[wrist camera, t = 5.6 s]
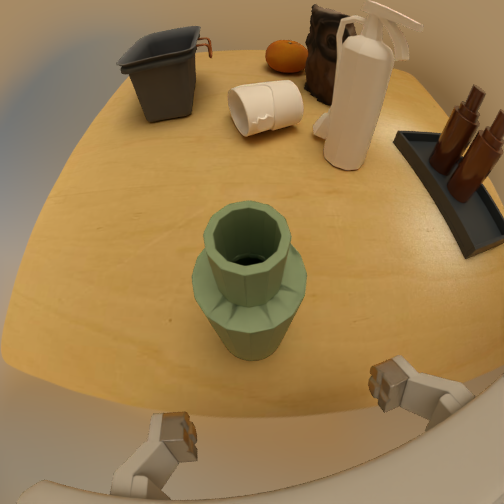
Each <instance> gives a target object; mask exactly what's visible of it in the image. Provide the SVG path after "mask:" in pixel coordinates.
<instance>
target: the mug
mask: <svg viewBox="0 0 504 504" xmlns="http://www.w3.org/2000/svg"><path fill="white" fill-rule="evenodd" d="M228 104H229V109H230V113H231V116H232V118H233V121H234V123H235V125H236V127H237V129H238V130H239V132H240V133H241V134H242V135H243V136H249V135H253V134H256V133H259V132H262V131H266V130H269V129H271V130H276V129H280V128H283V127H287V126H291V125H295V124H298V123H299V122H300V121H301V120H302V117H303V101H302V97H301V94H300V91H299V89H298V88H297V86H296V85H295V84H294V83H293V82H292V81H290V80H281V81H271V82H262V83H254V84H247V85H241V86H237V87H235V88H233V89H230V90H229V92H228Z"/></svg>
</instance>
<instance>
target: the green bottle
mask: <svg viewBox="0 0 504 504" xmlns="http://www.w3.org/2000/svg"><path fill="white" fill-rule="evenodd" d="M203 237H204V243H205V248H204V250H203V251H202V252H201V253H200V255H199V256H198V258H197V260H196V264H195V267H194V270H193V274H192V284H193V291H194V297H195V299H196V301H197V303H198V304H199V306H200V307H201V309H202V311H203V312H204V314H205V315H206V317H207V318H208V320H209V322H210V323H211V325H212V326H213V328H214V329H215V331H216V332H217V334H218V335H219V337H220V338H221V340H222V341H223V343H224V344H225V346H226V347H227V349H228V350H229V351H230V352H231V353H232V354H233V355H235V356H236V357H238V358H240V359H243V360H248V361H256V360H261V359H264V358H266V357H268V356H270V355H271V354H272V353H273V352H275V351H276V349H277V348H278V346H279V344H280V343H281V341H282V339H283V337H284V335H285V333H286V332H287V330H288V328H289V326H290V324H291V322H292V320H293V318H294V316H295V314H296V312H297V310H298V308H299V306H300V304H301V302H302V300H303V298H304V296H305V290H306V280H307V273H306V270H305V267H304V264H303V261H302V258H301V255H300V254H299V252H298V251H297V250H296V249H295V248H294V247H293V246H292V245H291V243H290V242H291V233H290V230H289V227H288V225H287V222H286V219H285V218H284V217H283V216H282V215H281V214H280V213H278V212H277V211H276V210H275V209H274V208H272V207H271V206H269V205H267V204H263V203H258V202H254V201H243V202H237V203H232V204H229V205H227V206H225V207H224V208H222V209H221V210H219V211H218V212H217V213H215V214H214V215H213V216H212V217H211V219H210V221H209V223H208V225H207V227H206V229H205V231H204V234H203Z"/></svg>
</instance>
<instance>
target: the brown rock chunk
mask: <svg viewBox="0 0 504 504" xmlns="http://www.w3.org/2000/svg"><path fill="white" fill-rule="evenodd" d="M311 12H312V15H311V20H310V24H311V26H310V33H309V34H308V36H307V39H306V42H305V43H306V46H307V49H308V57H307V60H306V64H305V65H306V66H305V73H306V80H307V82H306V83H305V87H304V89H305V90H307V91H309V92H311V94H310V95H312V96H314V97H316V98H317V101H319V102H322V103H324V104H326V105H330V106H331V105H332V100H333V92H334V83H335V74H336V64H337V37H336V35H337V32H338V28H339V25H340V22H341V19H343V18H347V17H350V16H348V15H345V14H342V13H340V12H337V11H335V10H331V9H327V8H326V9H324V8H322V7H319V6H317V5H316V4H314V5H313V6H312V11H311ZM350 36H357V35H356V31H355V27H354V24H353V23H349V24H346V25H345V29H344V33H343V36H342V45H343V43H344V42H345V40H346V39H347V38H348V37H350Z"/></svg>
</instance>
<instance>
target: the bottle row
mask: <svg viewBox="0 0 504 504" xmlns="http://www.w3.org/2000/svg"><path fill="white" fill-rule="evenodd" d="M485 95H486V93H485V92H484V91H483V90H482V89H481V88H480V87H478V86H476V85H473V86H472V89H471V91H470V93H469V95H468V98H467V100H466V102H464V101H462V102H461V104H460V106H455V107H454V109H453V111H452V113H451V115H450V117H449V119H448V121H447V124H446V126H445V128H444V130H443V132H442V134H441V136H440V138H439V139H438V141H437V143H436V145H435V147H434V149H433V151H432V153H431V155H430V156H429V163H430V165H431V166H432V167H433V168H434V169H435V170H436V171H437V172H438V173H440V174H442V175H445V176H449V175H450V174H451V173H452V171H453V169H454V168H455V166H456V165H457V163H458V162H459V160H460V158H461V157H462V155H463V153H464V152H465V150H466V148H467V147H468V145H469V143H470V142H471V140H472V138H473V136H474V134H475V133H476V131H477V129H478V127H479V125H480V123H479V121H478V118H479V116H480V114H479V112H478V110H479V108H480V106H481V104H482V102H483V99H484V97H485ZM503 137H504V111H503V110H501V109H500V111H499V112H498V115H497V116H496V118H495V120H494V122H493V124H492V126H491V127H489V126H487V127H486V128H485V130H484V131H483V130H479V131H478V133H477V135H476V137H475V139H474V140H473V142H472V144H471V145H470V147H469V149H468V150H467V152H466V154H465V155H464V157H463V158H462V160H461V162H460V163H459V165H458V166H457V168H456V170H455V171H454V173H453V174H452V176H451V177H450V179H449V180H448V182H447V188H448V191H449V192H450V194H451V195H452V196H453V197H454V198H455V199H456V200H457V201H459V202H461V203H467V202H468V201H469V200H470V198H471V197H472V196H473V195H474V193H475V192H476V191H477V189H478V188H479V187H480V185H481V184H482V183H483V181H484V180H485V179H486V177H487V176H488V175H489V173H490V172H491V170H492V169H493V167H494V166H495V165H496V163H497V162H498V160H499V158H500V157H501V156H502V154H503V150H502V148H501V147H502V146H503V144H504V140H503V139H502V138H503Z"/></svg>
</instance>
